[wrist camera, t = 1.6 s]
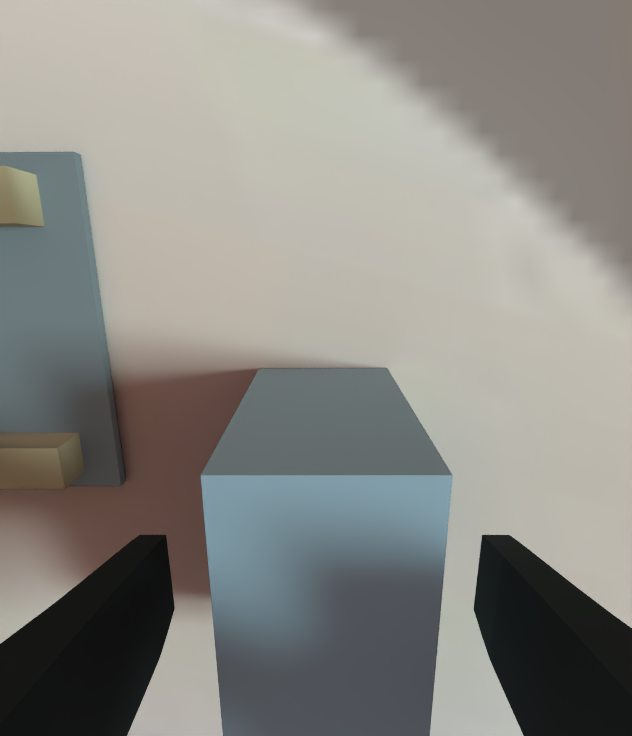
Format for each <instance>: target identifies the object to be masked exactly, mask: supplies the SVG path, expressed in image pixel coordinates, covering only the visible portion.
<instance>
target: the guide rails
mask: <svg viewBox="0 0 632 736" xmlns="http://www.w3.org/2000/svg"><path fill="white" fill-rule="evenodd" d="M0 227H45V225H44V219H43V213H42V207H41V201H40V195H39V189H38V183H37V177H36V175H35V174H32V173H29V172H25V171H22V170H18V169H15V168H12V167H8V166H0ZM84 471H85V468H84V462H83V456H82V450H81V444H80V437H79V433H0V489H65V488H66V487H67V486H69V485H70V484H71V483H72V482H73V481H74V480H75V479H76V478H77V477H78V476H80V475H81V474H82V473H83V472H84Z"/></svg>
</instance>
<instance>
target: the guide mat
mask: <svg viewBox="0 0 632 736" xmlns="http://www.w3.org/2000/svg"><path fill="white" fill-rule="evenodd" d="M0 166H8V167H12V168H15V169H18V170H22V171H25V172H29V173H32V174H35V175H36V177H37V183H38V189H39V195H40V201H41V207H42V213H43V219H44V225H45V227H0V433H79V437H80V444H81V450H82V456H83V462H84V468H85V471H84V472H83V473H82V474H81V475H80V476H78V477H77V478H76V479H75V480H74V481H73V482H72V483H71V484H70V485H69V486H121V485H122V484H123V483H124V482H125V481H126V480H125V473H124V465H123V458H122V451H121V444H120V436H119V429H118V422H117V415H116V407H115V400H114V393H113V386H112V378H111V371H110V364H109V357H108V349H107V342H106V335H105V328H104V320H103V313H102V306H101V299H100V291H99V284H98V277H97V270H96V262H95V255H94V248H93V241H92V233H91V226H90V219H89V212H88V204H87V197H86V190H85V182H84V175H83V168H82V161H81V155H80V154H77V153H75V152H0Z"/></svg>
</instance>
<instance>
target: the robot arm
mask: <svg viewBox="0 0 632 736" xmlns="http://www.w3.org/2000/svg"><path fill="white" fill-rule="evenodd" d="M474 611H475V615H476V618H477V621H478V624H479V628H480V631H481V634H482V637H483V640H484V643H485V646H486V649H487V652H488V655H489V658H490V660H491V663H492V665H493V667H494V670H495V672H496V674H497V677H498V679H499V681H500V683H501V686H502V688H503V690H504V692H505V695H506V697H507V699H508V702H509V704H510V706H511V708H512V710H513V713H514V715H515V717H516V719H517V722H518V724H519V726H520V728H521V730H522V733H523V735H524V736H632V628H630V627H629V626H627V625H626V624H625V623H623V622H622V621H621V620H619V619H618V618H617V617H615V616H614V615H613V614H611V613H610V612H608V611H607V610H606V609H604V608H603V607H602V606H600V605H599V604H598V603H596V602H595V601H594V600H592V599H591V598H590V597H589V596H587V595H586V594H585V593H583V592H582V591H581V590H579V589H578V588H577V587H576V586H574V585H573V584H572V583H570V582H569V581H568V580H567V579H565V578H564V577H563V576H562V575H560V574H559V573H558V572H556V571H555V570H554V569H553V568H551V567H550V566H549V565H548V564H546V563H545V562H544V561H543V560H541V559H540V558H539V557H537V556H536V555H535V554H534V553H532V552H531V551H530V550H529V549H527V548H526V547H525V546H523V545H522V544H521V543H519V542H518V541H517V540H515V539H514V538H513V537H511V536H510V535H482V542H481V550H480V559H479V568H478V576H477V585H476V594H475V602H474ZM173 612H174V599H173V591H172V582H171V573H170V565H169V556H168V548H167V539H166V535H139V536H138V537H136V538H135V539H134V540H132V541H131V542H130V543H128V544H127V545H126V546H125V547H123V548H122V549H121V550H120V551H119V552H117V553H116V554H115V555H114V556H112V557H111V558H110V559H109V560H108V561H106V562H105V563H104V564H103V565H101V566H100V567H99V568H98V569H97V570H95V571H94V572H93V573H92V574H90V575H89V576H88V577H87V578H86V579H84V580H83V581H82V582H81V583H79V584H78V585H77V586H76V587H74V588H73V589H72V590H71V591H69V592H68V593H67V594H66V595H64V596H63V597H62V598H61V599H59V600H58V601H57V602H56V603H54V604H53V605H52V606H50V607H49V608H48V609H46V610H45V611H44V612H42V613H41V614H40V615H38V616H37V617H36V618H34V619H33V620H32V621H30V622H29V623H28V624H26V625H25V626H24V627H22V628H21V629H20V630H18V631H17V632H16V633H14V634H13V635H12V636H10V637H9V638H8V639H6V640H5V641H4V642H2V643H1V644H0V736H127V734H128V732H129V729H130V727H131V725H132V722H133V720H134V718H135V715H136V713H137V711H138V708H139V706H140V704H141V701H142V699H143V697H144V694H145V692H146V689H147V687H148V685H149V682H150V680H151V677H152V675H153V673H154V670H155V668H156V665H157V663H158V660H159V658H160V655H161V652H162V649H163V645H164V642H165V639H166V636H167V633H168V629H169V626H170V622H171V619H172V615H173Z"/></svg>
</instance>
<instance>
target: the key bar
mask: <svg viewBox="0 0 632 736" xmlns="http://www.w3.org/2000/svg"><path fill="white" fill-rule="evenodd" d="M201 487H202V498H203V510H204V521H205V533H206V545H207V556H208V568H209V579H210V591H211V602H212V614H213V625H214V637H215V648H216V660H217V671H218V683H219V695H220V706H221V718H222V729H223V736H429V735H430V724H431V713H432V701H433V690H434V679H435V668H436V656H437V645H438V634H439V622H440V611H441V600H442V588H443V577H444V566H445V555H446V543H447V532H448V521H449V509H450V498H451V487H452V474H451V472H450V470H449V469H448V467H447V465H446V464H445V462H444V460H443V459H442V457H441V456H440V454H439V452H438V451H437V449H436V447H435V446H434V444H433V442H432V441H431V439H430V438H429V436H428V434H427V433H426V431H425V429H424V428H423V426H422V424H421V423H420V421H419V419H418V418H417V416H416V415H415V413H414V411H413V410H412V408H411V406H410V405H409V403H408V401H407V400H406V398H405V397H404V395H403V393H402V392H401V390H400V388H399V387H398V385H397V383H396V382H395V380H394V378H393V377H392V375H391V374H390V372H389V370H388V369H387V368H259V370H258V372H257V373H256V375H255V377H254V379H253V381H252V382H251V384H250V386H249V388H248V390H247V392H246V393H245V395H244V397H243V399H242V401H241V403H240V404H239V406H238V408H237V410H236V412H235V413H234V415H233V417H232V419H231V421H230V423H229V424H228V426H227V428H226V430H225V432H224V434H223V435H222V437H221V439H220V441H219V443H218V444H217V446H216V448H215V450H214V452H213V454H212V455H211V457H210V459H209V461H208V463H207V464H206V466H205V468H204V470H203V472H202V474H201Z"/></svg>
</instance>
